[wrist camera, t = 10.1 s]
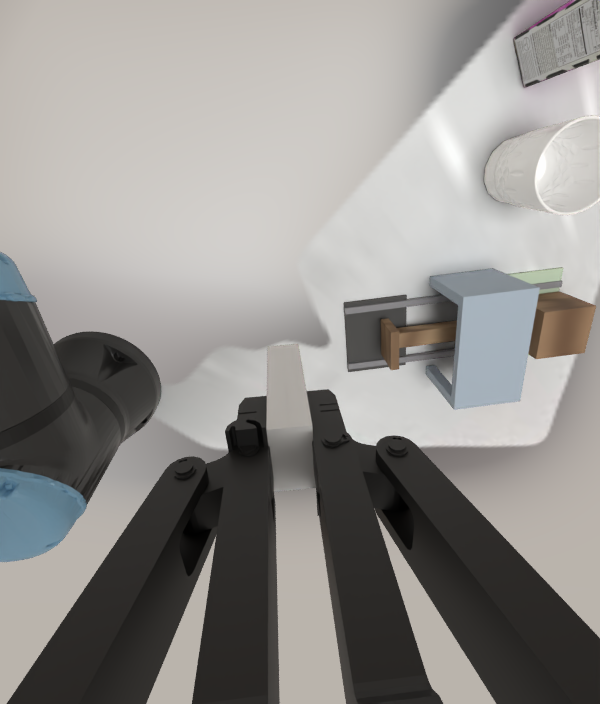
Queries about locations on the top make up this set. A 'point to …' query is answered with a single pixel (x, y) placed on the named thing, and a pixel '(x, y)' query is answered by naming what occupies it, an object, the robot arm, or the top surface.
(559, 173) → the white cup
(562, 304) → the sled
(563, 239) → the top surface
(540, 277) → the mat
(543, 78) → the candy bar box
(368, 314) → the dark grey flat plate
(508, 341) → the tunnel
